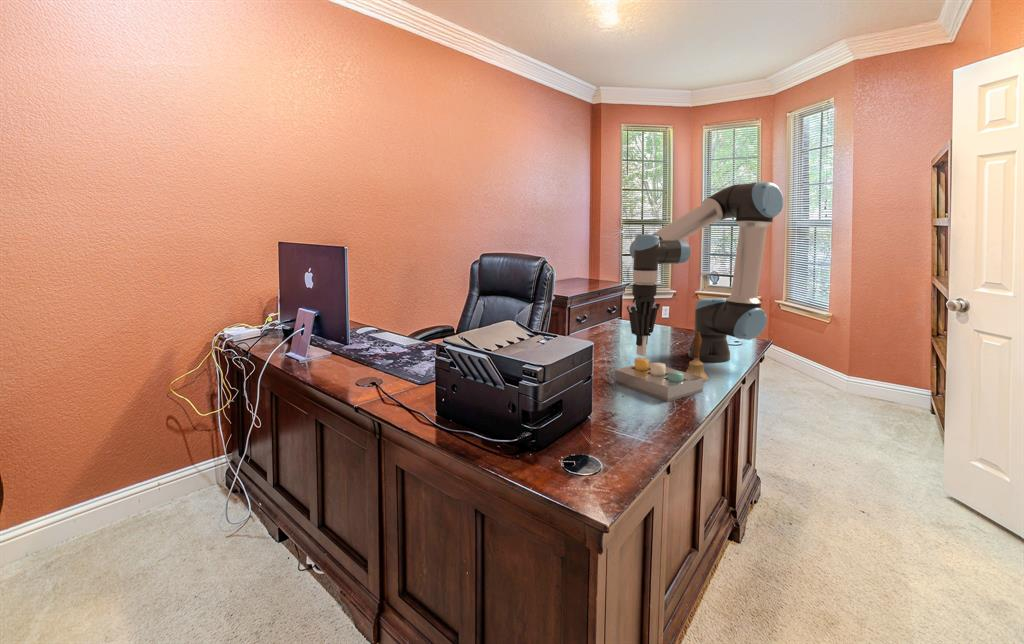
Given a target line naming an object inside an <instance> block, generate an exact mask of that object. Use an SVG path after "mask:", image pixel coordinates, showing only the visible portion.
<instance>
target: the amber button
mask: <svg viewBox="0 0 1024 644" xmlns="http://www.w3.org/2000/svg"><path fill="white" fill-rule="evenodd" d="M649 362H650V359H648V358H645V357H638V358H637V357H636V358H634V365H633V366H634V370H637V371H641V372H644V371H648V370H649Z"/></svg>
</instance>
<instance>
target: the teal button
mask: <svg viewBox="0 0 1024 644" xmlns="http://www.w3.org/2000/svg"><path fill="white" fill-rule="evenodd" d="M680 371H681V370H678V371H669V372H668V380H669V381H672V382H675V383H679V382H682V381H683V379H684V373H683V372H684V371H682V372H680Z"/></svg>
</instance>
